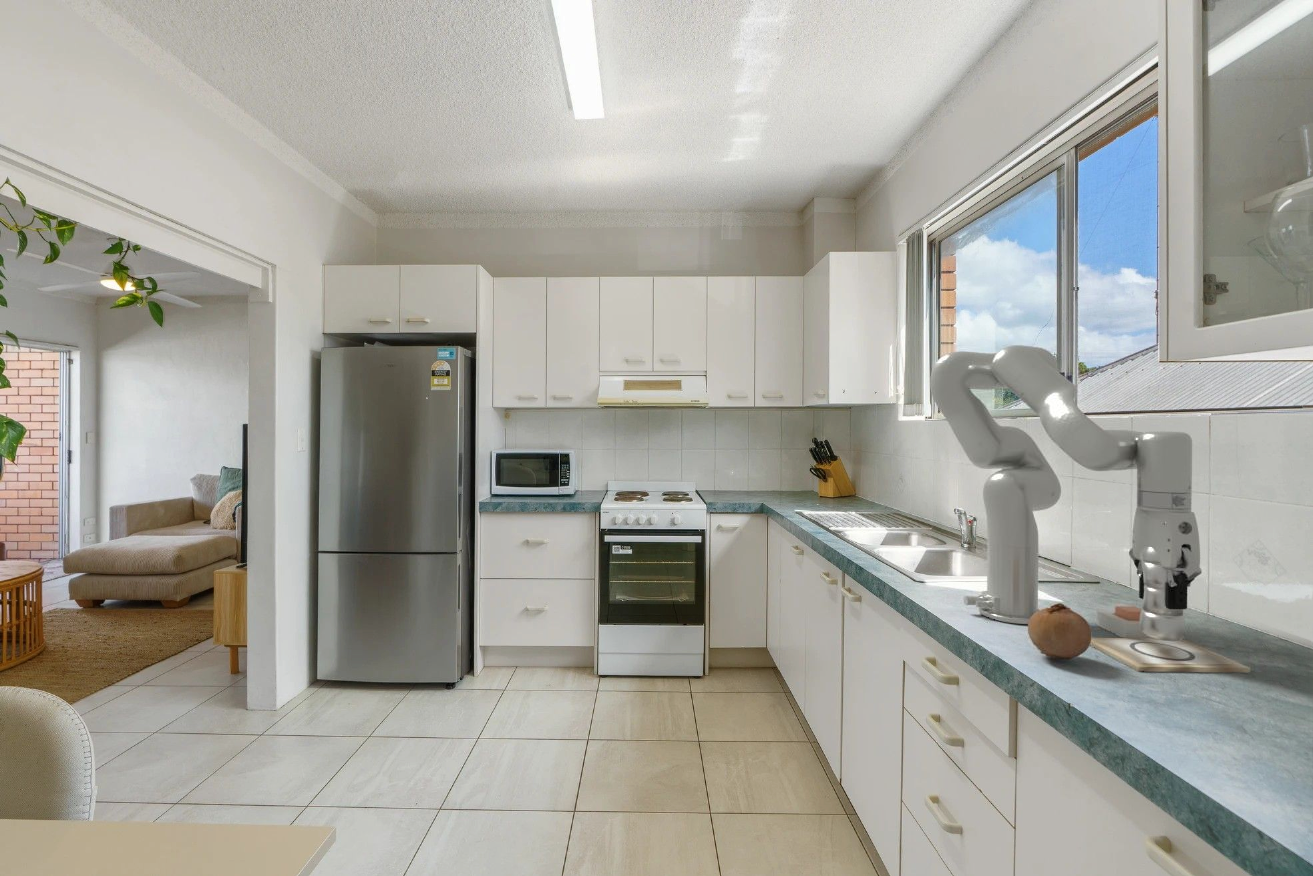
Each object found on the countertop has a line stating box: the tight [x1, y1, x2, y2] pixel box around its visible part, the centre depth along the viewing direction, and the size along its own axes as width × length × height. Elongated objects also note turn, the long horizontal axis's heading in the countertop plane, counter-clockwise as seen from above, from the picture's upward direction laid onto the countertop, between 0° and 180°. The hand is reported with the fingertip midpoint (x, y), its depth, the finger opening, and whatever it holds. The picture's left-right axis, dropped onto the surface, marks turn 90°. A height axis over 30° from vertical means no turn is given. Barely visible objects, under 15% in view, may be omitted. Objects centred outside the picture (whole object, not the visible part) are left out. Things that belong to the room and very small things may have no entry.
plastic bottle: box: [1139, 547, 1187, 641], centre depth 110 cm, size 6×7×20 cm
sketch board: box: [1089, 637, 1251, 674], centre depth 111 cm, size 18×14×1 cm
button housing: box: [1096, 610, 1155, 639], centre depth 124 cm, size 8×8×3 cm
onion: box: [1027, 602, 1093, 661], centre depth 109 cm, size 10×9×10 cm
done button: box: [1114, 605, 1143, 621], centre depth 124 cm, size 4×4×3 cm
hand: (1162, 602), depth 111 cm, fingers closed on plastic bottle, 5 cm apart
